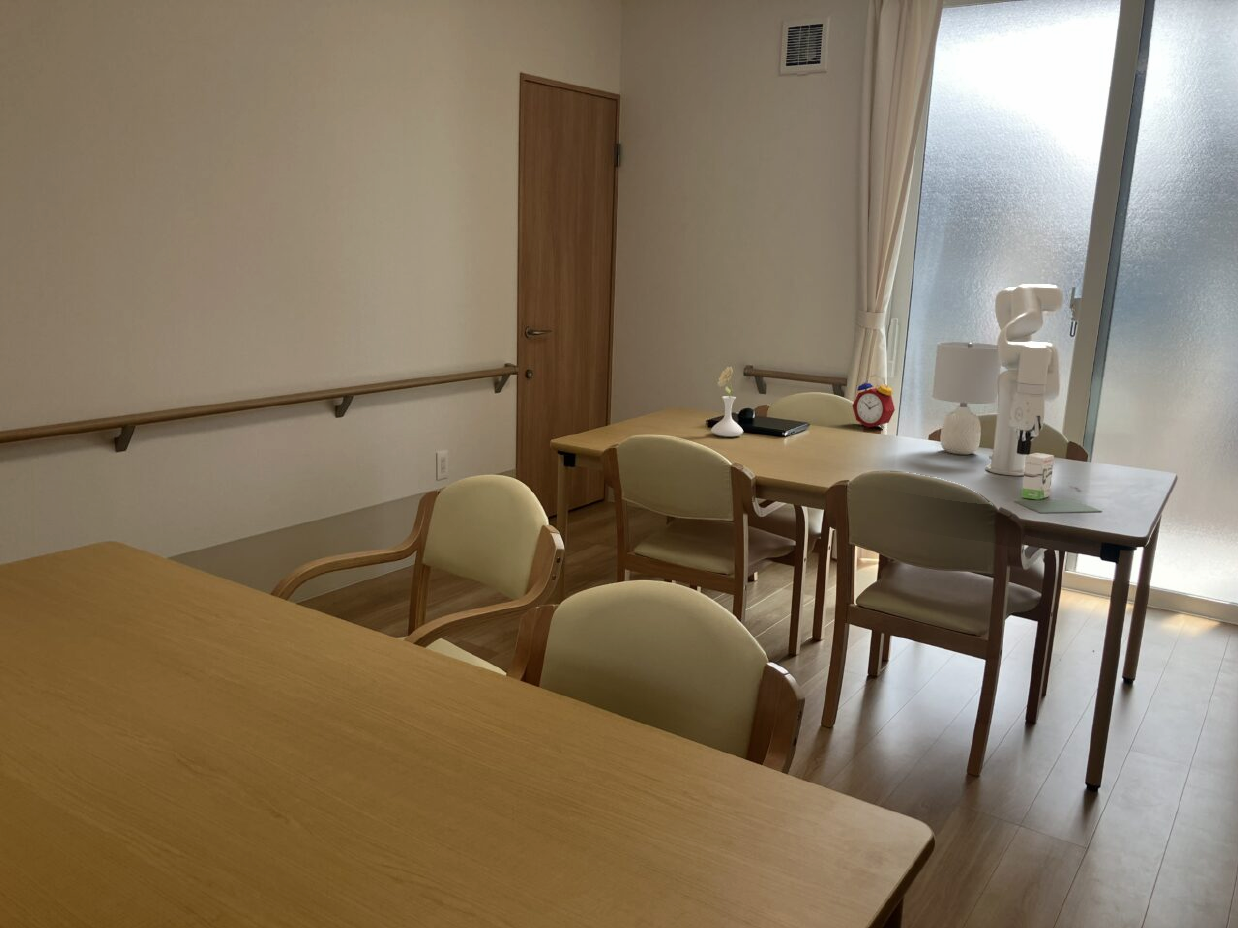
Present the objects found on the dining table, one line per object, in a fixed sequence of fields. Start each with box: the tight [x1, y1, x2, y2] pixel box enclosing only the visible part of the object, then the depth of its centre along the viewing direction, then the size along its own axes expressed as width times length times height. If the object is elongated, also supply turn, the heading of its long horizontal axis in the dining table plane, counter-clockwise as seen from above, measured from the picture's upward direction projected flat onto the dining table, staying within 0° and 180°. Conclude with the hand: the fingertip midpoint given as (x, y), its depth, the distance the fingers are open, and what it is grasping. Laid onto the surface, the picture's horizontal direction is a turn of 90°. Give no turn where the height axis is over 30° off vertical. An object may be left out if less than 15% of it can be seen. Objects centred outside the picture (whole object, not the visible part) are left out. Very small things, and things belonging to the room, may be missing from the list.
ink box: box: [1021, 452, 1055, 500], centre depth 275 cm, size 9×5×12 cm, turn 137°
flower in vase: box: [710, 366, 744, 437], centre depth 349 cm, size 13×11×25 cm
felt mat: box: [1013, 498, 1103, 514], centre depth 267 cm, size 12×18×1 cm, turn 100°
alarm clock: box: [852, 374, 896, 430], centre depth 377 cm, size 15×9×20 cm, turn 43°
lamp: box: [932, 341, 1002, 456], centre depth 331 cm, size 20×20×37 cm
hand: (1023, 453), depth 282 cm, fingers closed
